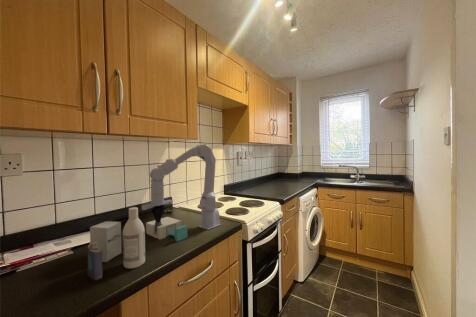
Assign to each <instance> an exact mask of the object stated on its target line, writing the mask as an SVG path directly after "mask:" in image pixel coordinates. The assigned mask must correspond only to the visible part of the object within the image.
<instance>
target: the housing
mask: <svg viewBox="0 0 476 317" xmlns="http://www.w3.org/2000/svg"><path fill="white" fill-rule="evenodd" d="M155 222H156V221H155V219H154V220H152V221H151V220H150V221H148V222H146V223H145V224H146V225H145V229H146V231H145V235H148V236H151V237H153V238H155V239H158V240H162V239H165V238H167V236H166V227H168V226H171V225H175V228H177V227H180V226H182V220H181V219H177V218H173V217H170V216H165V217H161V226H158V227H157V232H156V231H155Z"/></svg>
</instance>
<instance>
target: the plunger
mask: <svg viewBox="0 0 476 317" xmlns="http://www.w3.org/2000/svg"><path fill="white" fill-rule="evenodd" d="M158 226H161V221H160V222H155V231H156V232H157V227H158Z"/></svg>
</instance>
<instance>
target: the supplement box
mask: <svg viewBox="0 0 476 317" xmlns="http://www.w3.org/2000/svg"><path fill="white" fill-rule="evenodd" d="M91 242H94V243H96V242H97V244H96V245H97V247H98V248H99V249H102V263H108V262H109V261H110V260H112V259H113V258H115V257H117V256H119V255H120V254H122V221H109V220H106V221H105V220H104V221H103V222H99V223H98V224H95V225H92V226H90V227H89V244H90V243H91Z"/></svg>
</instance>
